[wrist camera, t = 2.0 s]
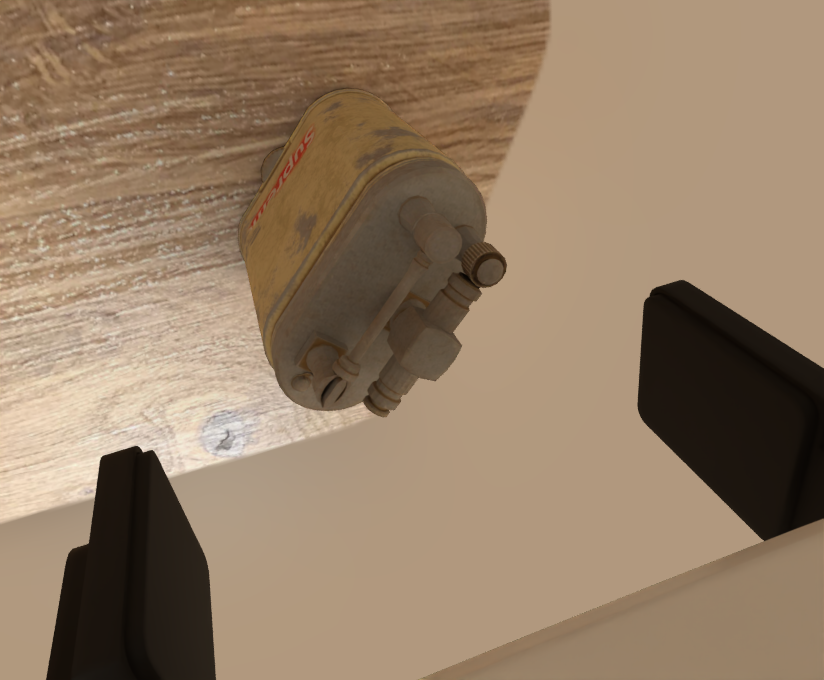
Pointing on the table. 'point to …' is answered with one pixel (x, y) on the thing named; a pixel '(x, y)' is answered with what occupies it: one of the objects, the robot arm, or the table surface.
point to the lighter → (362, 256)
